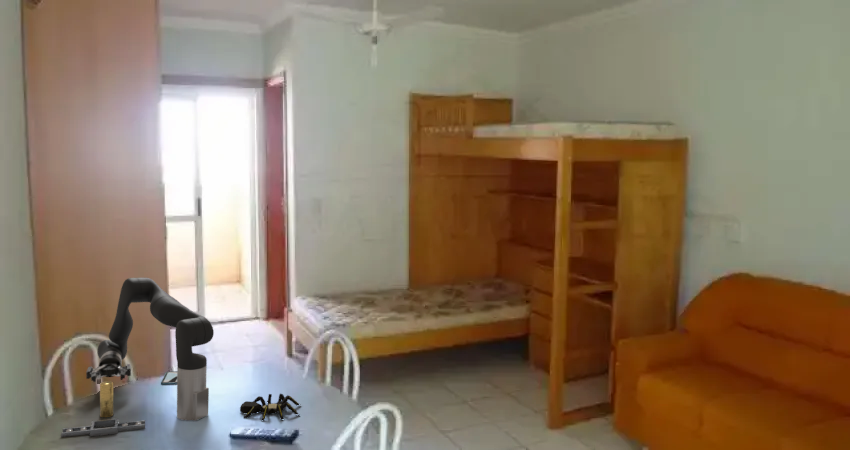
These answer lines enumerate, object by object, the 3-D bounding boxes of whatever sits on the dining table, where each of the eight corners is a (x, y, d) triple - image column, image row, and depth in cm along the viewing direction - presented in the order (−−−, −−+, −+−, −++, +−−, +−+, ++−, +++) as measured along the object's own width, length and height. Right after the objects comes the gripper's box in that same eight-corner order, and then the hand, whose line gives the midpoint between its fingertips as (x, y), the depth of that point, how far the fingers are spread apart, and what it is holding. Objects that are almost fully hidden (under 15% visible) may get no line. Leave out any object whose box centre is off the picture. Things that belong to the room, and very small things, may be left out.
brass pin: (116, 414, 222) (116, 382, 221) (106, 418, 219) (106, 386, 218) (107, 412, 224) (107, 380, 223) (97, 416, 220) (97, 384, 219)
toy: (301, 422, 224) (301, 408, 224) (236, 422, 221) (237, 408, 221) (303, 403, 241) (304, 390, 241) (244, 403, 239) (244, 390, 238)
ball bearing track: (145, 421, 218) (145, 415, 217) (145, 430, 211) (145, 424, 210) (63, 429, 208) (63, 423, 208) (60, 439, 201) (60, 433, 201)
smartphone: (185, 371, 268) (180, 382, 254) (185, 373, 268) (180, 385, 254) (166, 371, 267) (160, 383, 252) (166, 373, 267) (160, 385, 252)
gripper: (88, 354, 242) (85, 369, 228) (131, 352, 248) (130, 366, 233) (88, 374, 243) (85, 390, 228) (131, 372, 249) (130, 387, 234)
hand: (108, 378), depth 231 cm, fingers open, 8 cm apart
